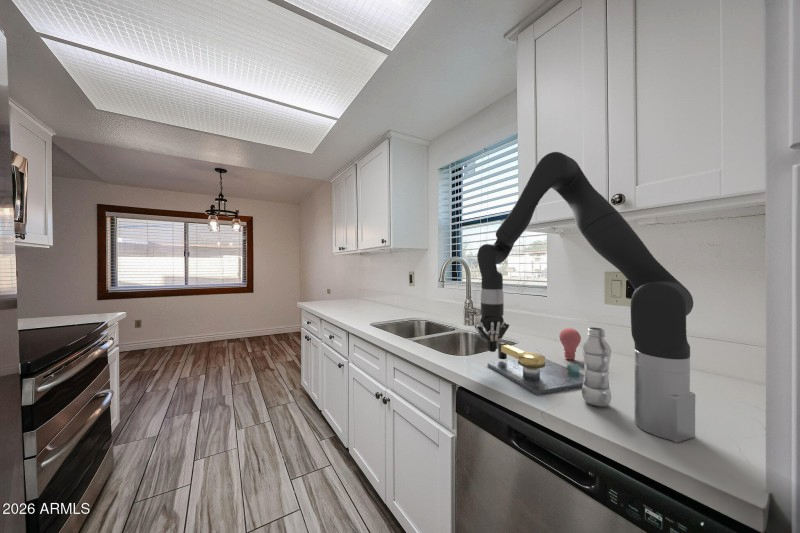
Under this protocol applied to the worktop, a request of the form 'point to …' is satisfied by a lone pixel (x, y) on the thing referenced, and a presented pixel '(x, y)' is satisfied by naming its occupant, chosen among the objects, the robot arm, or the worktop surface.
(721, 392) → the worktop surface
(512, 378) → the base
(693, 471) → the worktop surface
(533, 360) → the gold long piece
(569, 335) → the light bulb
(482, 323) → the robot arm
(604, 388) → the plastic bottle
